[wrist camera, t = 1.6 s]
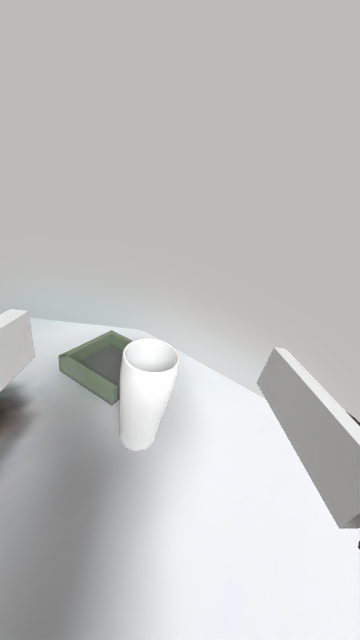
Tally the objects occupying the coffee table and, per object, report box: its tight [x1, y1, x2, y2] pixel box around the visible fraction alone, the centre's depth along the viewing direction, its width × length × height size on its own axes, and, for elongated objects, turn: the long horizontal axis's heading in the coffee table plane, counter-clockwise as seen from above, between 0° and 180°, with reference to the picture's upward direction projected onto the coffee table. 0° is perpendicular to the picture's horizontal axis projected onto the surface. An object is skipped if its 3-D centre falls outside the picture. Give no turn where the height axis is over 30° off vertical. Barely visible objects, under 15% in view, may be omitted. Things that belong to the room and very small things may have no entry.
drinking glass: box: [120, 339, 180, 451], centre depth 26 cm, size 7×7×15 cm
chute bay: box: [59, 330, 133, 405], centre depth 39 cm, size 13×13×4 cm
